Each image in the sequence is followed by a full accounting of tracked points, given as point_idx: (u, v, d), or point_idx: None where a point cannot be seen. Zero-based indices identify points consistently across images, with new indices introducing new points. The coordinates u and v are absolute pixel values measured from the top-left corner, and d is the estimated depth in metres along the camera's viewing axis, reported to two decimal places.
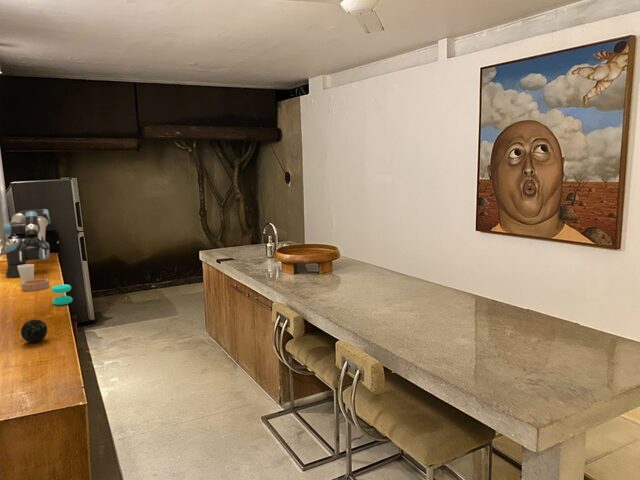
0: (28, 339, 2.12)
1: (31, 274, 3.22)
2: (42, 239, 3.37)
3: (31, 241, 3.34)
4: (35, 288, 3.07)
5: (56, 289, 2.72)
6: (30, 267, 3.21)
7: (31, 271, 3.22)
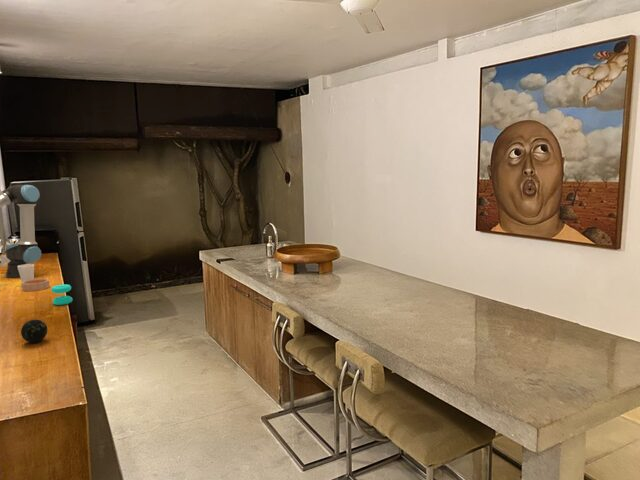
0: (28, 339, 2.12)
1: (31, 274, 3.22)
2: None
3: None
4: (35, 288, 3.07)
5: (56, 289, 2.72)
6: (30, 267, 3.21)
7: (31, 271, 3.22)
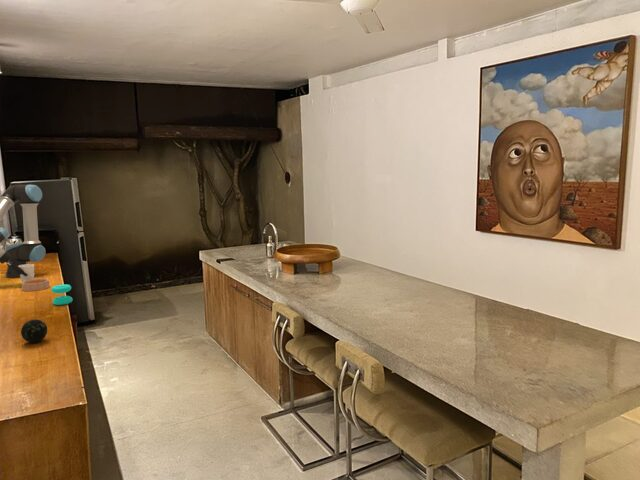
0: (28, 339, 2.12)
1: (31, 274, 3.22)
2: (9, 266, 3.14)
3: None
4: (35, 288, 3.07)
5: (56, 289, 2.72)
6: (30, 267, 3.21)
7: (31, 271, 3.22)
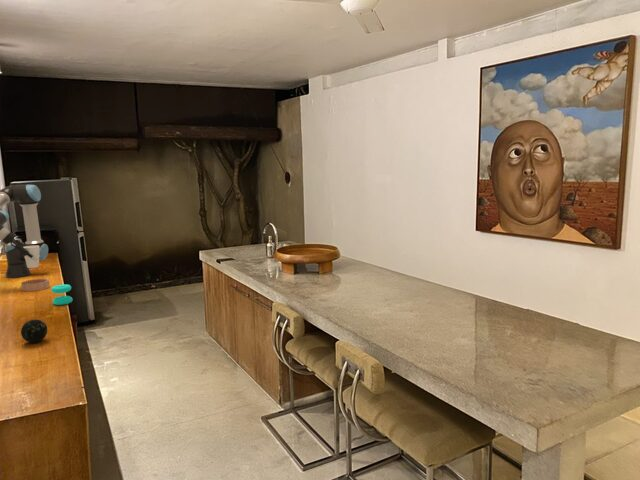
0: (28, 339, 2.12)
1: (36, 256, 3.10)
2: (14, 246, 3.01)
3: None
4: (35, 288, 3.07)
5: (56, 289, 2.72)
6: (35, 248, 3.08)
7: (36, 252, 3.09)
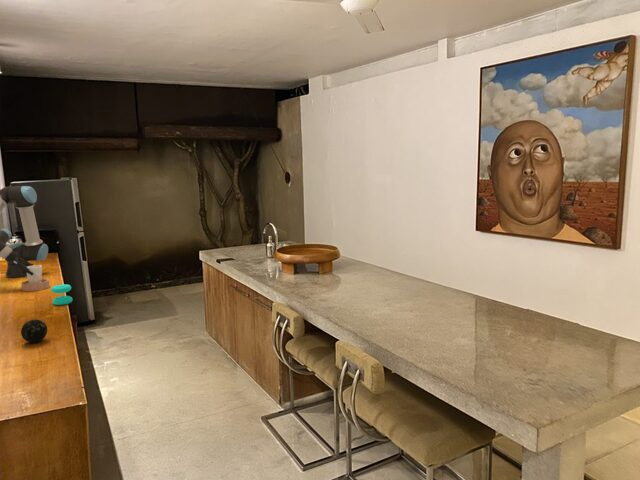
0: (28, 339, 2.12)
1: (39, 276, 3.12)
2: (15, 264, 3.02)
3: None
4: (35, 288, 3.07)
5: (56, 289, 2.72)
6: (38, 268, 3.10)
7: (39, 272, 3.12)
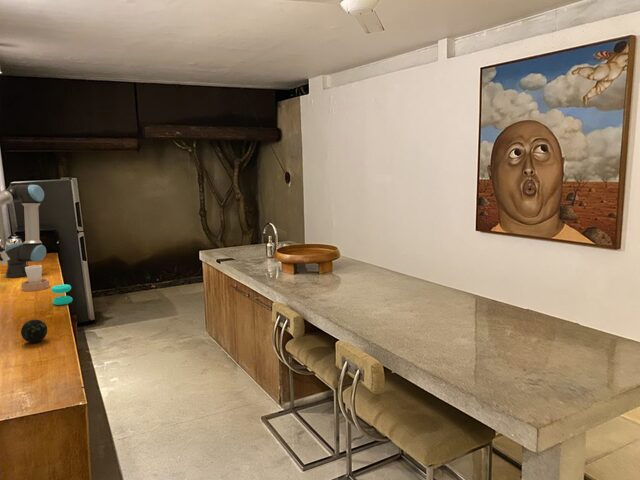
0: (28, 339, 2.12)
1: (39, 276, 3.12)
2: None
3: None
4: (35, 288, 3.07)
5: (56, 289, 2.72)
6: (38, 268, 3.10)
7: (39, 272, 3.12)
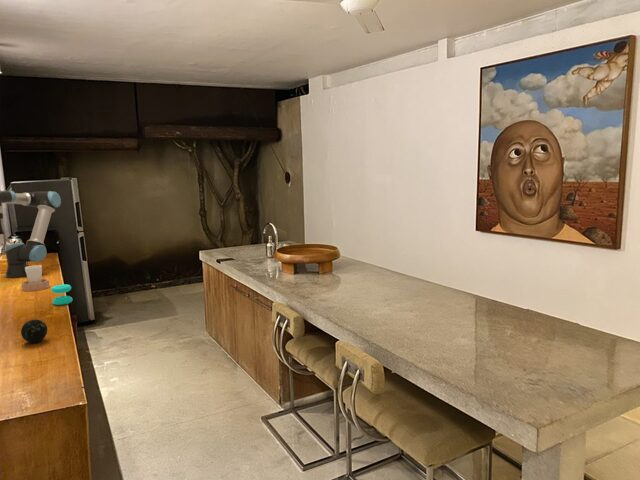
0: (28, 339, 2.12)
1: (39, 276, 3.12)
2: None
3: None
4: (35, 288, 3.07)
5: (56, 289, 2.72)
6: (38, 268, 3.10)
7: (39, 272, 3.12)
